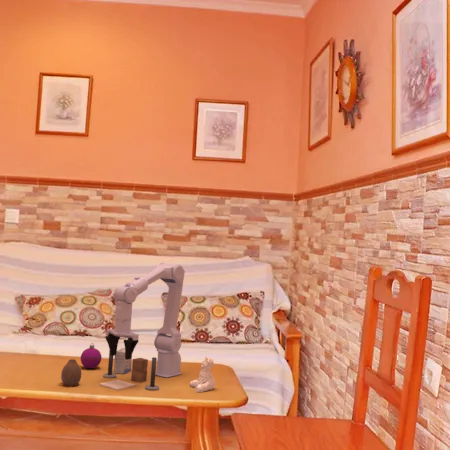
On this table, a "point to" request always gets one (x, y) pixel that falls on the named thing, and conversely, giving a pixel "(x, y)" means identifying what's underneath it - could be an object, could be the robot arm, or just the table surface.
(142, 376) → the walnut block
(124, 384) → the white pad
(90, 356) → the christmas ornament
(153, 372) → the post
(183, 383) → the table surface
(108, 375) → the post
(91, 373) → the table surface
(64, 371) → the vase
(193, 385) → the seated beast figurine
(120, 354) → the medicine box
